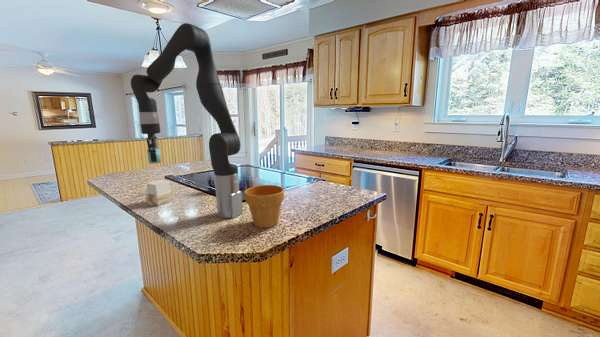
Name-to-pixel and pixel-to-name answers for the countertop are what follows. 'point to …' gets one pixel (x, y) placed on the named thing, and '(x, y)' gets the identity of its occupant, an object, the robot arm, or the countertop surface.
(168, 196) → the oak base block
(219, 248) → the countertop surface
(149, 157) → the teal cylinder
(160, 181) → the white top block
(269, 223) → the flower pot
